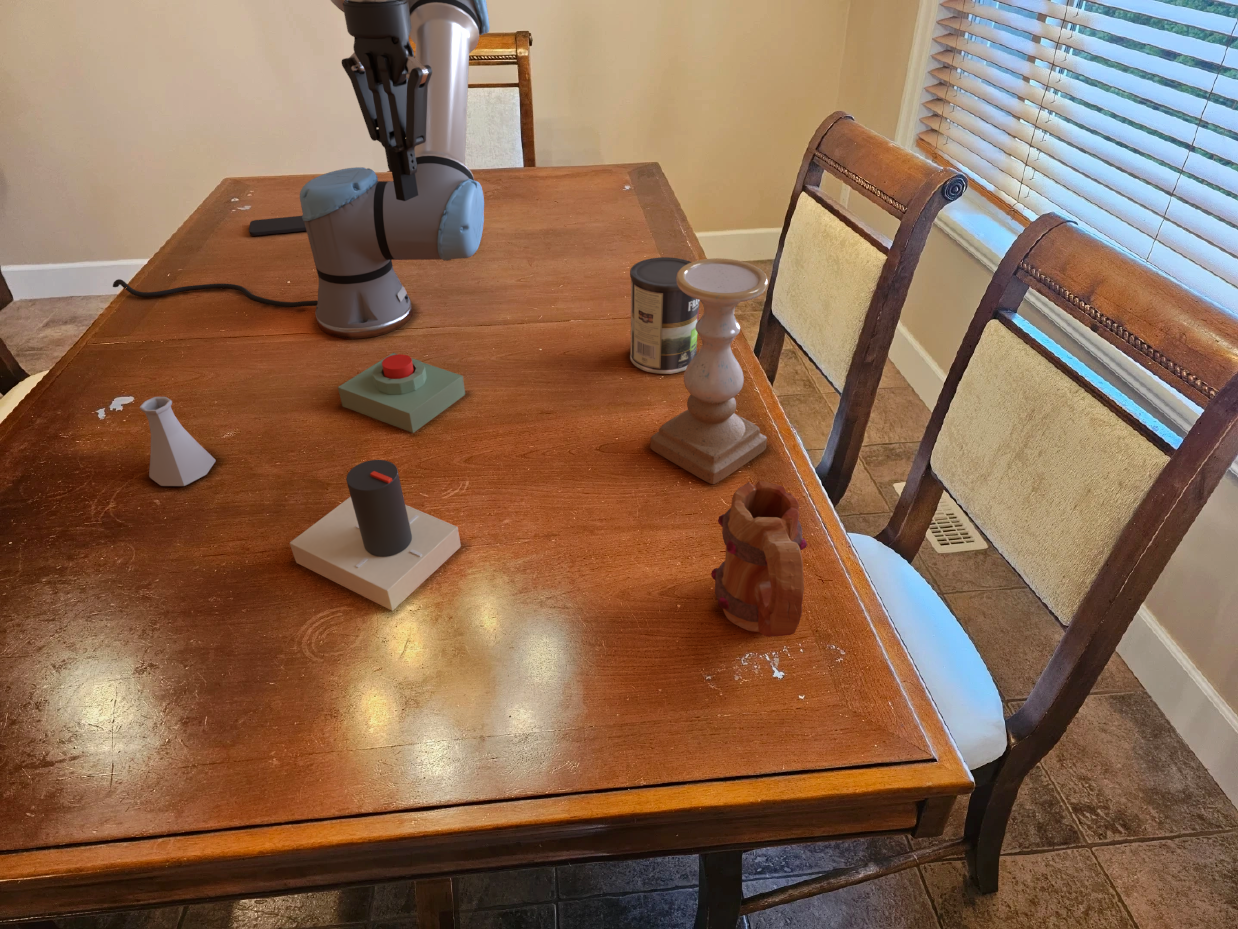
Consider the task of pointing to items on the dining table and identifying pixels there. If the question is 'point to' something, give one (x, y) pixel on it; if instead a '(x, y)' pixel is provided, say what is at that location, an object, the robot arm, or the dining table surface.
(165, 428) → the flask
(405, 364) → the power button
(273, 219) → the phone
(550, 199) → the dining table surface
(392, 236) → the robot arm
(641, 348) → the coffee can
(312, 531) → the dial panel
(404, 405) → the block
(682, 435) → the candle holder
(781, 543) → the mug
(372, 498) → the knob
